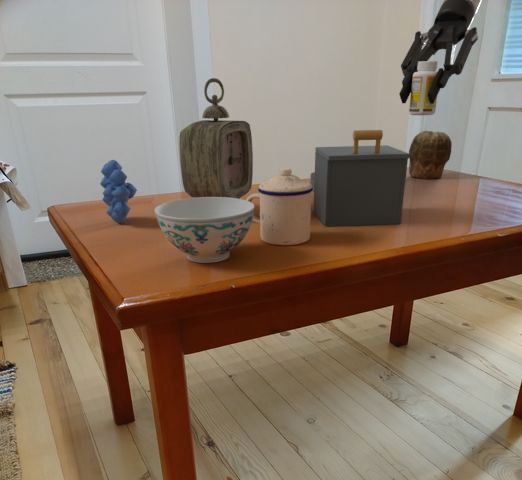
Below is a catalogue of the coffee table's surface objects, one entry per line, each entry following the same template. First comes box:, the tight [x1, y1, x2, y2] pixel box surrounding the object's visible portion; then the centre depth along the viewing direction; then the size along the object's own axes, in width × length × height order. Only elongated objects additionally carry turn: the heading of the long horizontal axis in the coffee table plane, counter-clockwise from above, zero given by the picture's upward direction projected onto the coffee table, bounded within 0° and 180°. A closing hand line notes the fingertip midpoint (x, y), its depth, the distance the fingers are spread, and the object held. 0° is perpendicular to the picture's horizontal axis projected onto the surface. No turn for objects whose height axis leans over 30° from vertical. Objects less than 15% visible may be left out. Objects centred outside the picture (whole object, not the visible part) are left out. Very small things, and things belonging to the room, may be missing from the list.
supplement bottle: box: [408, 60, 438, 116], centre depth 109 cm, size 6×6×10 cm
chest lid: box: [314, 129, 410, 161], centre depth 95 cm, size 13×15×5 cm
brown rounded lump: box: [408, 130, 453, 180], centre depth 139 cm, size 11×11×12 cm
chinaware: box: [154, 197, 256, 264], centre depth 78 cm, size 15×15×8 cm
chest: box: [312, 151, 409, 227], centre depth 99 cm, size 13×15×12 cm
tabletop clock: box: [178, 77, 254, 199], centre depth 100 cm, size 14×9×25 cm, turn 155°
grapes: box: [99, 159, 138, 224], centre depth 98 cm, size 12×7×12 cm, turn 30°
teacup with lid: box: [246, 167, 313, 246], centre depth 86 cm, size 12×9×12 cm
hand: (416, 98), depth 107 cm, fingers closed on supplement bottle, 6 cm apart
